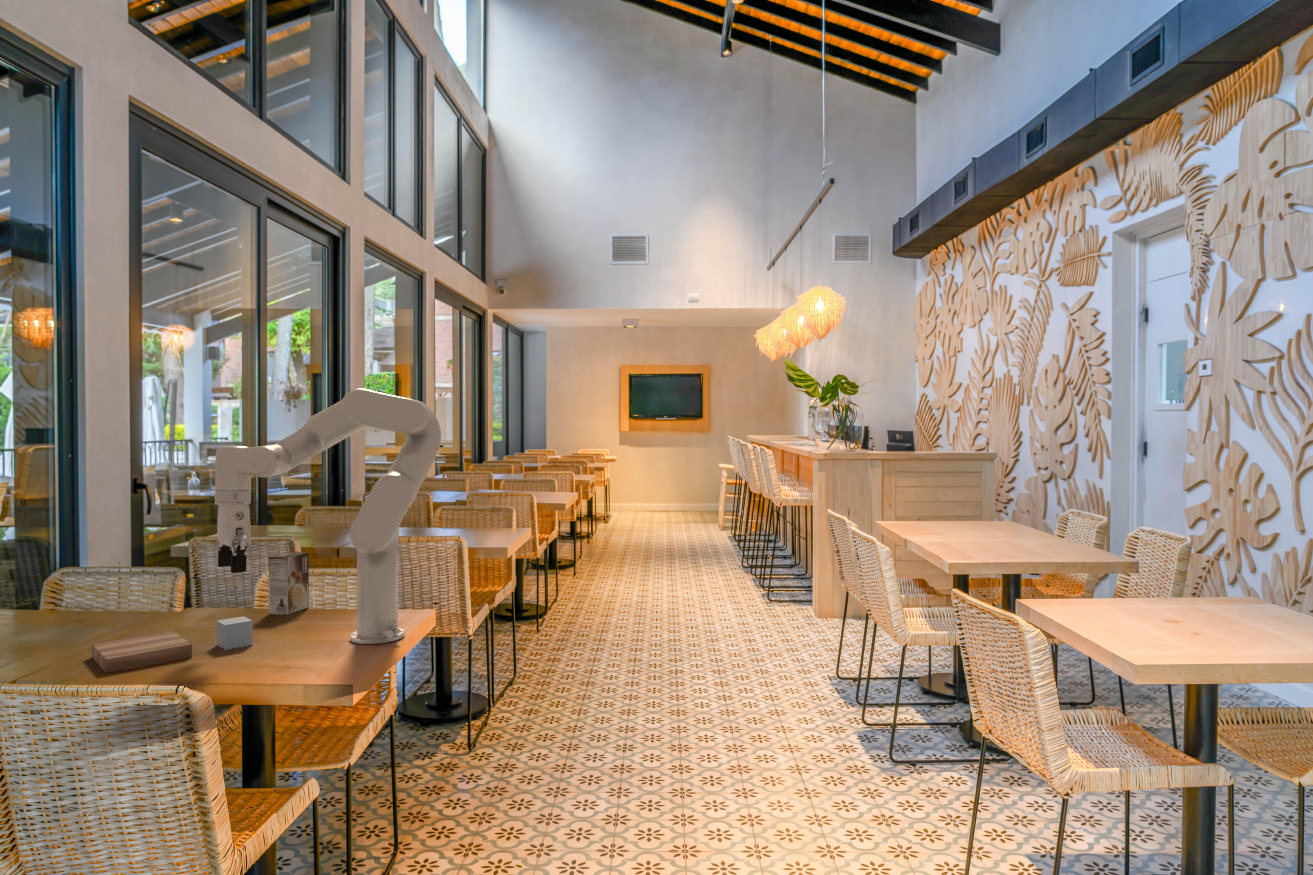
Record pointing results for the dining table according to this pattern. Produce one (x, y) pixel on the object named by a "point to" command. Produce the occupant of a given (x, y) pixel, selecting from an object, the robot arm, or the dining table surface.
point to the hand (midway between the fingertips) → (231, 569)
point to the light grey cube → (234, 632)
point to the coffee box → (288, 582)
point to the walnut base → (141, 651)
